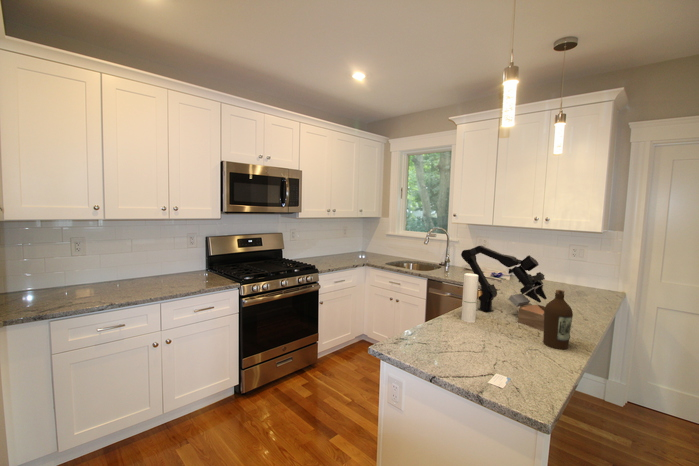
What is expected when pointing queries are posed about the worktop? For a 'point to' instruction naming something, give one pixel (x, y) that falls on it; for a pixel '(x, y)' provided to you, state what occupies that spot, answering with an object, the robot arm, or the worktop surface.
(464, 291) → the cylindrical container
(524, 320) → the frame
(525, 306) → the brown cube-like block
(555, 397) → the worktop surface
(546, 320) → the olive oil
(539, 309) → the trapdoor
